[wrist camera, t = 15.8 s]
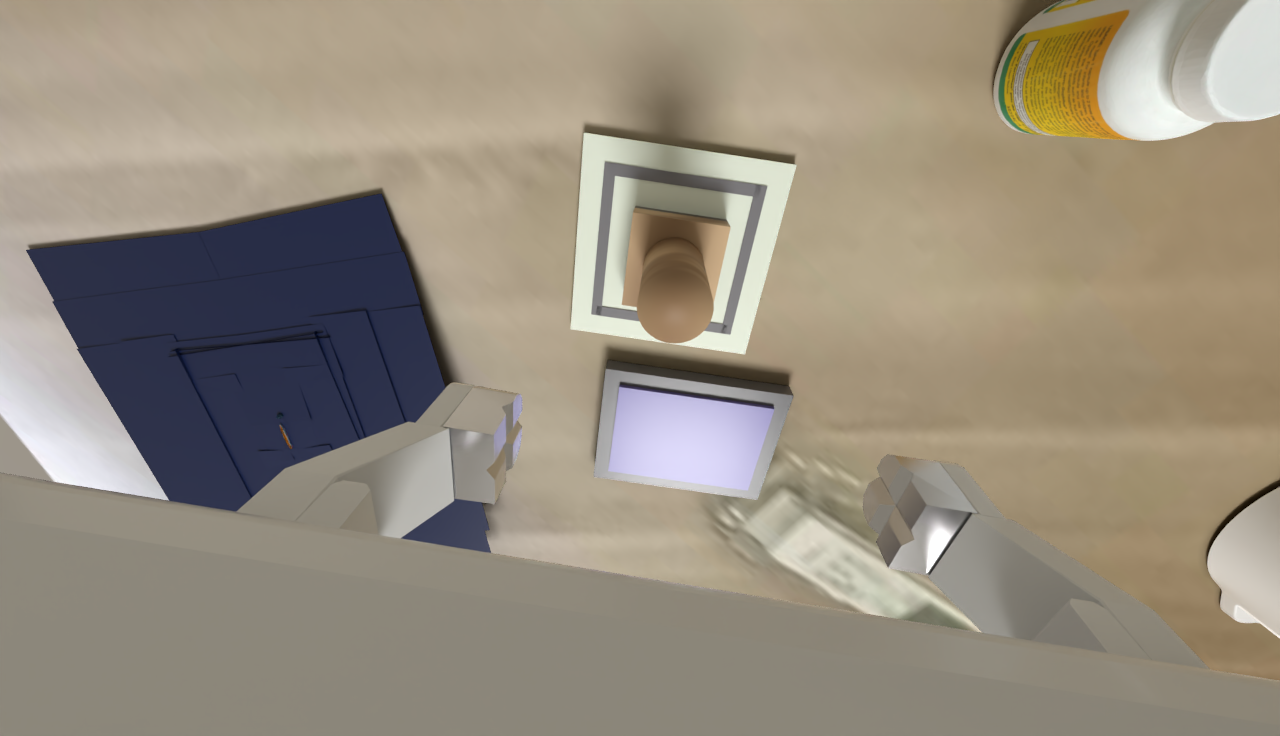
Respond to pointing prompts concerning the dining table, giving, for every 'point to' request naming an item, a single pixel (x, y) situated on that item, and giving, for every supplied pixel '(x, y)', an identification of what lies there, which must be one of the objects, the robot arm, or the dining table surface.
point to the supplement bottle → (1141, 68)
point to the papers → (256, 348)
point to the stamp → (674, 271)
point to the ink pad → (688, 429)
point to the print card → (678, 184)
